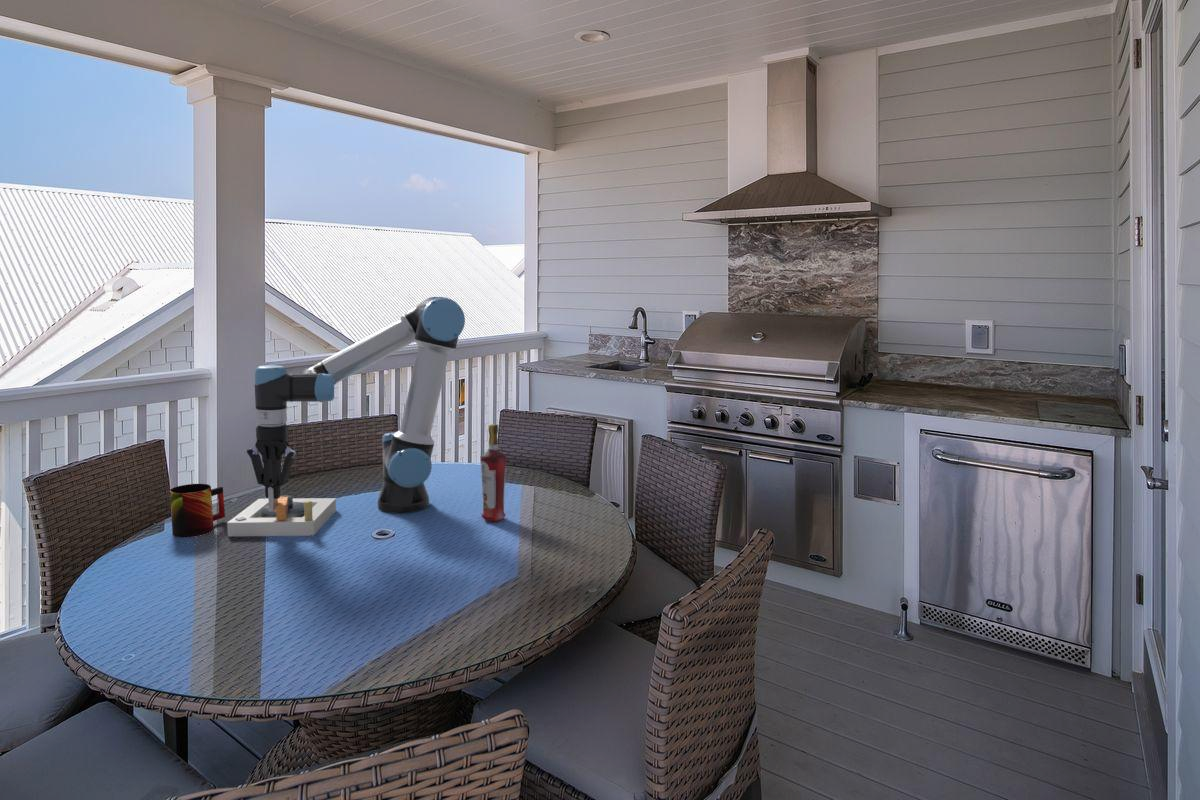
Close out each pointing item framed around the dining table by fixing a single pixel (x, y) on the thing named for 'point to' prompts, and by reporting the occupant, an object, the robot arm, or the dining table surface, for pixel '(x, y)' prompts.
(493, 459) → the liquor
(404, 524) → the dining table surface
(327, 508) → the housing
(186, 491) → the mug
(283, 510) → the dial
